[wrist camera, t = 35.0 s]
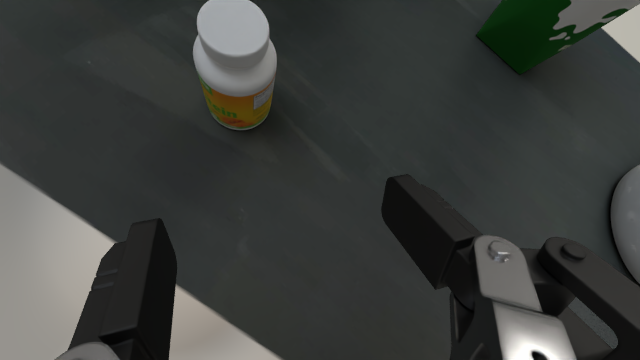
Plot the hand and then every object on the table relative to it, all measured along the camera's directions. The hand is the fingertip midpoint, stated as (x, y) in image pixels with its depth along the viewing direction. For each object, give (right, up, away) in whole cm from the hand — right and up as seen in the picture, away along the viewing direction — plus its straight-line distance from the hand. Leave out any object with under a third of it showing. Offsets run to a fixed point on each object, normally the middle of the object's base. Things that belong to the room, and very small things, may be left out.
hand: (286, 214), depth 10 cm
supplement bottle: (-6, +8, +15) cm, 18 cm away
